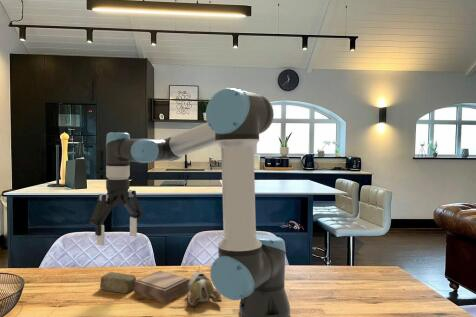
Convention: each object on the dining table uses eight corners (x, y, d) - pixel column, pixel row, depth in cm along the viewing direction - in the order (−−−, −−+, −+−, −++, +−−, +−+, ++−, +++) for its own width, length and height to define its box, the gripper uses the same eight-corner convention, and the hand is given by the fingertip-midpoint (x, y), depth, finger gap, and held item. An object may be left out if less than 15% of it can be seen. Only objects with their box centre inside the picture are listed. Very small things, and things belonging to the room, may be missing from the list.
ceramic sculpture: (212, 263, 123) (223, 283, 109) (212, 287, 124) (223, 309, 110) (182, 267, 120) (189, 287, 106) (181, 291, 121) (189, 314, 107)
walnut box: (189, 290, 122) (189, 278, 122) (164, 303, 112) (164, 290, 112) (159, 281, 130) (159, 269, 129) (134, 292, 120) (134, 280, 119)
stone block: (128, 295, 118) (127, 280, 118) (98, 291, 121) (98, 276, 121) (137, 288, 124) (137, 274, 124) (108, 284, 127) (108, 270, 127)
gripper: (138, 174, 133) (138, 230, 134) (77, 180, 112) (77, 247, 113) (152, 176, 129) (152, 234, 130) (92, 182, 108) (92, 251, 109)
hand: (117, 240), depth 122 cm, fingers open, 13 cm apart
